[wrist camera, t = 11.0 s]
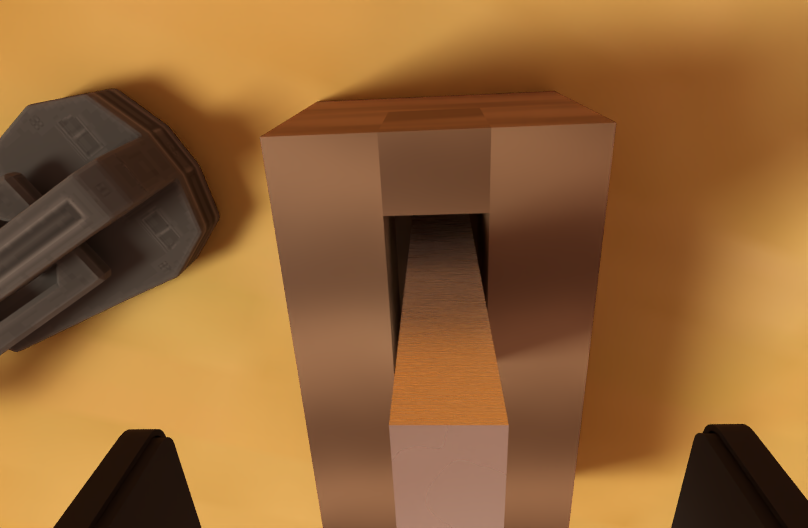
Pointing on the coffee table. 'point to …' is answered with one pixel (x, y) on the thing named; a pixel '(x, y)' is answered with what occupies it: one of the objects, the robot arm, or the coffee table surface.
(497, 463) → the pinkish wooden bar
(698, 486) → the robot arm
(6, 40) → the coffee table surface
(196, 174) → the zipper pull
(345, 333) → the slotted wooden block
